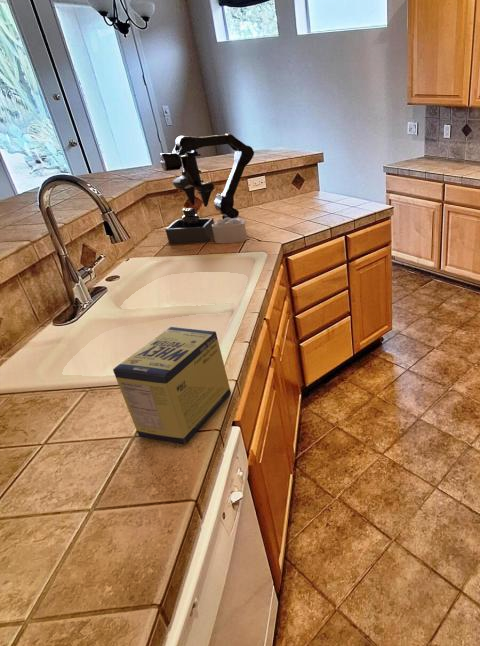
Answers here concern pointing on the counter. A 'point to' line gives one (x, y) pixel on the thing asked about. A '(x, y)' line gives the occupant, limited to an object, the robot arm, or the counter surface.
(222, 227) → the white rounded block
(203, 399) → the protein box
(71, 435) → the counter surface
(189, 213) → the supplement bottle
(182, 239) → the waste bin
